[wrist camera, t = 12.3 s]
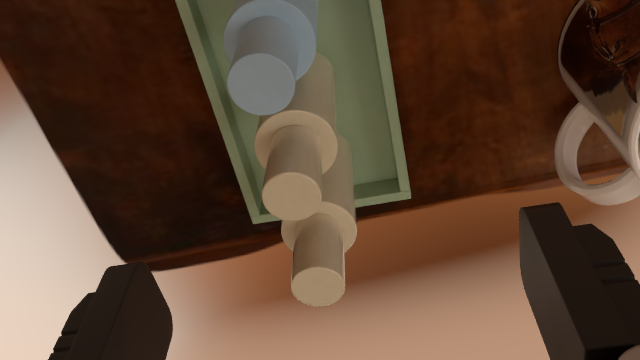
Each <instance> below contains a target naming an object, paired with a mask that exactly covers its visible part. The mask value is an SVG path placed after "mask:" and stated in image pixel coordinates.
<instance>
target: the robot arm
mask: <svg viewBox="0 0 640 360" xmlns="http://www.w3.org/2000/svg"><path fill="white" fill-rule="evenodd" d="M519 235H520V267H521V275H522V280H523V285H524V289H525V292H526V295H527V298H528V300H529V303H530V306H531V308H532V311H533V313H534V316H535V319H536V322H537V325H538V327H539V330H540V332H541V335H542V338H543V341H544V343H545V346H546V349H547V351H548V354H549V357H550V360H640V284H639V283H638V281H637V280H635V278H634V274H633V273H632V271H631V269H630V267H629V266H628V264H627V263H625V259H624V257H623V256H622V254H621V252H620V251H619V249H618V247H617V246H616V244H615V242H614V241H613V239H611V238H610V237H609V236H607V235H606V234H604V233H603V232H602V231H601V230H599V229H598V228H597V227H595V226H594V225H592V224H586V225H579V226H572V224H571V222H570V220H569V219H568V217H567V215H566V213H565V211H564V209H563V207H562V206H561V205H560V203H558V202H557V203H550V204H544V205H537V206H530V207H522V208H520V212H519ZM172 331H173V324H172V316H171V312H170V309H169V307H168V305H167V303H166V301H165V299H164V297H163V295H162V293H161V291H160V289H159V287H158V285H157V283H156V281H155V279H154V277H153V275H152V273H151V271H150V269H149V267H148V266H147V264H145V263H144V262H138V263H131V264H124V265H118V266H111V267H109V268H108V269H106V271H105V273H104V275H103V277H102V279H101V281H100V284H99V286H98V288H97V290H96V292H93V293H88V294H87V295H86V296H85V297H84V298H83V299H82V301H81V302H80V303H79V304H78V305H77V306H76V307H75V308H74V309H73V310H72V312H71V313H70V315H69V317H68V319H67V321H66V323H65V325H64V328H63V330H62V332H61V333H62V336H60V337H59V338H58V340H57V342H56V344H55V346H54V348H53V350H54V352H53V353H51V355H50V357H49V359H48V360H165V359H166V356H167V352H168V349H169V345H170V342H171V338H172Z"/></svg>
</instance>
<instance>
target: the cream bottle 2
mask: <svg viewBox="0 0 640 360" xmlns="http://www.w3.org/2000/svg"><path fill="white" fill-rule="evenodd" d="M337 133H338V132H337ZM281 234H282V238H283V240H284V242H285V244H286V245H287V247H288V248H289V249H290V250H291V251H292V252H293V264H292V278H291V290H292V293H293V295H294V296H295V297H296V299H298V300H299V301H300V302H302V303H304V304H306V305H310V306H316V307H317V306H318V307H320V306H327V305H330V304H332V303H334V302H336V301H338V300H339V299H340V298H341V297H342V295H343V293H344V291H345V267H344V253H345V252H346V251H347V250H348V249H349V248H350V247H351V246H352V245H353V243H354V241H355V239H356V235H357V220H356V205H355V190H354V175H353V159H352V150H351V147H350V145H349V143H348V141H347V140H346V139H345V138H344V137H343V136H342V135H341V134H339V133H338V151H337V156H336V159H335V161H334V163H333V164H332V166H331V167H330V168H329V169H328V170H327V171H326V172H325V173H324V174H322V201H321V204H320V206H319V208H318V210H317V211H316V212H315V213H314V214H313V215H311V216H310V217H308V218H306V219H303V220H299V221H286V220H282V225H281Z"/></svg>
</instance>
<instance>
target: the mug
mask: <svg viewBox="0 0 640 360" xmlns="http://www.w3.org/2000/svg"><path fill="white" fill-rule="evenodd" d="M558 62H559V69H560V72H561V76H562V78H563V80H564V82H565V84H566V86H567V87H568V88H569V90H570V91H571V92H572V94H573V95H574V96H575V97H576V99H577V100H578V101H579V102H578V103H577V105H576V106H575V107H574V108H573V109H572V110H571V111H570V112H569V114H568V115H567V117H566V118H565V120H564V121H563V123H562V125H561V127H560V130H559V132H558V135H557V138H556V143H555V153H554V160H555V167H556V171H557V173H558V176H559V178H560V179H561V181H562V182H563V183H564V185H566V186H567V187H568V188H569V189H570V190H572V191H574V192H575V193H577V194H578V195H580V196H581V197H583V198H584V199H586V200H588V201H590V202H593V203H595V204H600V205H616V204H621V203H624V202H627V201H630V200H632V199H634V198H635V197H638V196H639V195H640V0H580V1H579V2H578V4H577V5H576V6H575V7H574V9H573V11H572V12H571V14H570V16H569V17H568V19H567V21H566V24H565V26H564V28H563V31H562V35H561V38H560V42H559V50H558ZM594 122H595V123H596V125H597V126H598V127H599V128H600V130H601V131H602V132H603V134H604V135H605V136H606V137H607V139H608V140H609V141H610V143H611V144H612V145H613V146H614V148H615V149H616V150H617V152H618V153H619V154H620V155H621V157H622V158H623V159H624V161H625V162H626V163H627V164H628V166H629V168H628V169H627V170H626V171H625V172H623V173H622V174H621V175H620V176H618V177H617V178H615V179H613V180H611V181H608V182H606V183H601V184H585V183H584V182H583V181H582V180H581V178H580V176H579V173H578V170H577V164H576V158H577V152H578V148H579V145H580V143H581V141H582V139H583V137H584V135H585V133H586V132H587V131H588V129H589V128H590V127H591V125H592V124H593V123H594Z"/></svg>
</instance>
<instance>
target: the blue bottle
mask: <svg viewBox="0 0 640 360" xmlns="http://www.w3.org/2000/svg"><path fill="white" fill-rule="evenodd" d="M317 22H318V0H236V2H235V5H234V7H233V9H232V12H231V14H230V17H229V19H228V22H227V24H226V27H225V30H224V36H223V44H224V50H225V54H226V57H227V59H228V61H229V63H230V64H231V67H230V70H229V73H228V76H227V88H228V92H229V94H230V96H231V98H232V100H233V101H234V102H235V104H236V105H237V106H239V107H240V108H241V109H243V110H244V111H246V112H248V113H251V114H254V115H261V116H266V115H272V114H275V113H277V112H279V111H281V110H283V109H284V108H285V107H286V106H287V105H288V104H289V103H290V102H291V100H292V98H293V96H294V92H295V84H296V80H298V79H299V78H301V77H302V76H303V75H304V74H305V73H306V72H307V71H308V69H309V68H310V66H311V64H312V62H313V60H314V57H315V54H316V46H317Z"/></svg>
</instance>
